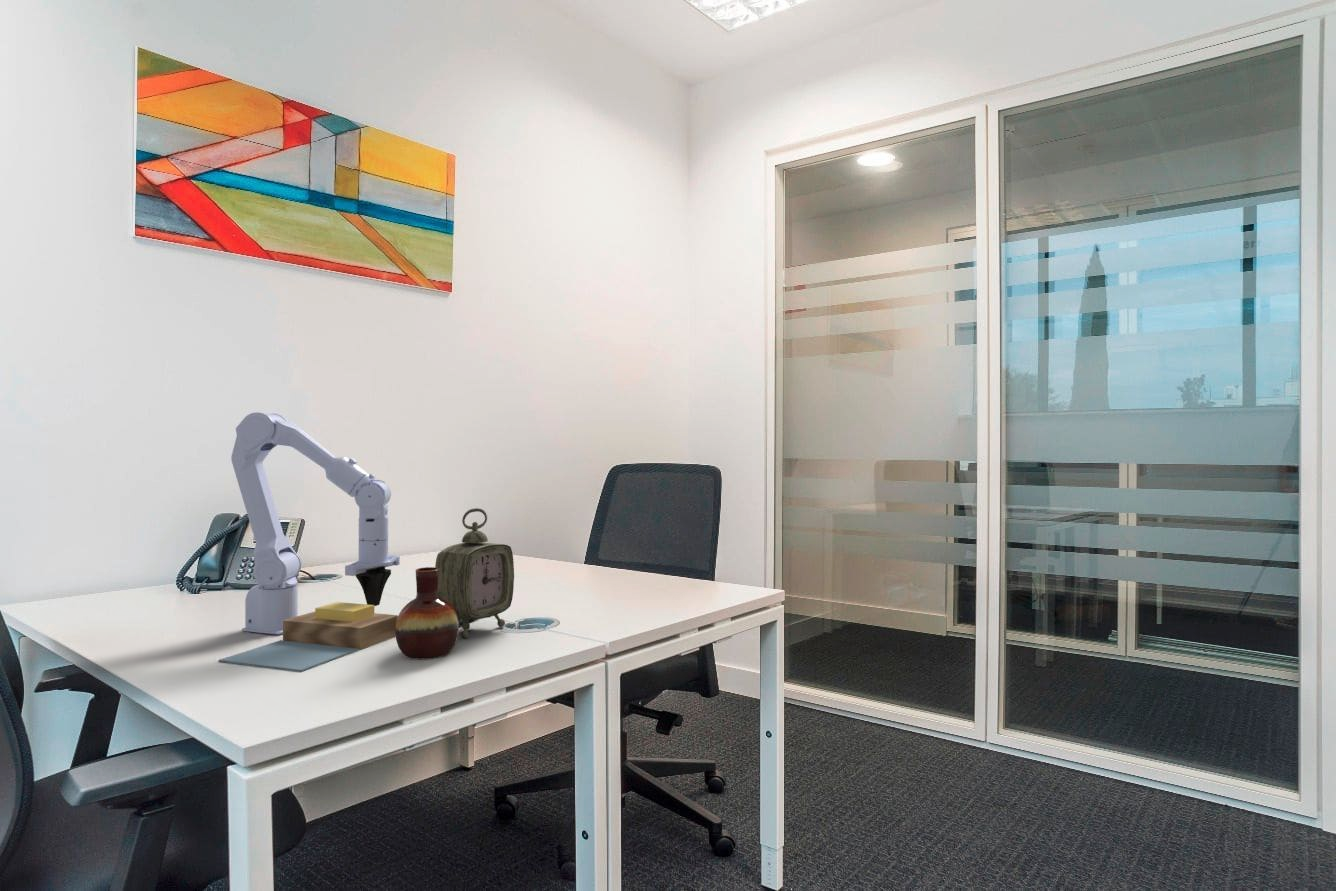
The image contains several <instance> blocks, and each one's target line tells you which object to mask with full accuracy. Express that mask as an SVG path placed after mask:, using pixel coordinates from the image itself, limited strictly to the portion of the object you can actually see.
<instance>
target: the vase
mask: <svg viewBox="0 0 1336 891" xmlns="http://www.w3.org/2000/svg"><path fill="white" fill-rule="evenodd" d="M438 579H439V568H435V566H434V567H433V566H431V567H430V566H425V567H418V568H415V582H416V596H415V598H413V599H412V600H410V601H409V602H408V603H407V604H406V605H405V606H403V608H401V610H400V612H399V614H398V618H397V621H396V625H395V636H396V637H395V640H396V644H397V647H398V648H399V651H400V652H401V653H402V655H404V657H406V658H409V659H414V660H429V659H437V658H442V657H444V656H446V655H449V653H451V651H452V650H453V648H454V646H455V644H456V642H457V639H458V636H459V630H460V629H459V623H458V617H457V614H456V612H455V610H454V609H453V607H452V606H451V605H450V604H449V603H448V602H447V601H445V600H444V599H442V598H440V597H439V596H438Z"/></svg>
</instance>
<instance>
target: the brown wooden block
mask: <svg viewBox="0 0 1336 891" xmlns="http://www.w3.org/2000/svg"><path fill="white" fill-rule="evenodd" d="M398 615H399V614H398ZM398 615H396V614H390V613H389V614H388V613H387V614H386V613H376V612H374V616H371V617H367V618H364V619H361V620H358V621H355V622H349V621H338V620H328V619H317V618H315V610H314V611H311V612H308V613H305V614H301V615H298V616H297V617H293V618H290V619H286V620H283V633H282V640H283V641H292V642H301V643H310V644H320V645H329V646H338V647H347V648H357V649H359V650H358V651H360V650H363V649H366V648H368V647H371V646H375V645H377V644H379V643H382V642H384V641H387V640H391V639H393V638H396V636H395V625H396V621H397V618H398Z"/></svg>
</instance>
